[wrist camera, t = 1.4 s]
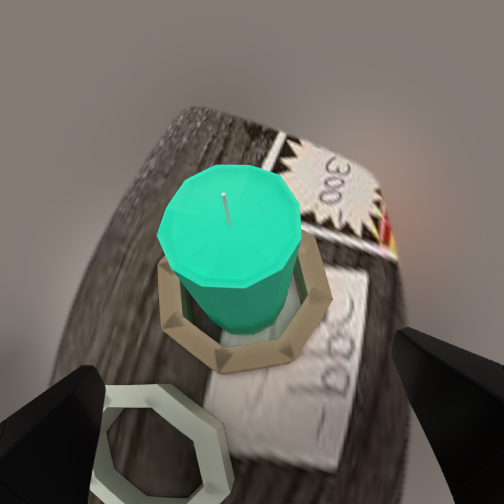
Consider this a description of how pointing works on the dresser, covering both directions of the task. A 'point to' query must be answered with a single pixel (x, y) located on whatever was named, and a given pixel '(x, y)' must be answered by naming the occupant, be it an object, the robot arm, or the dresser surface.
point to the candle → (234, 244)
